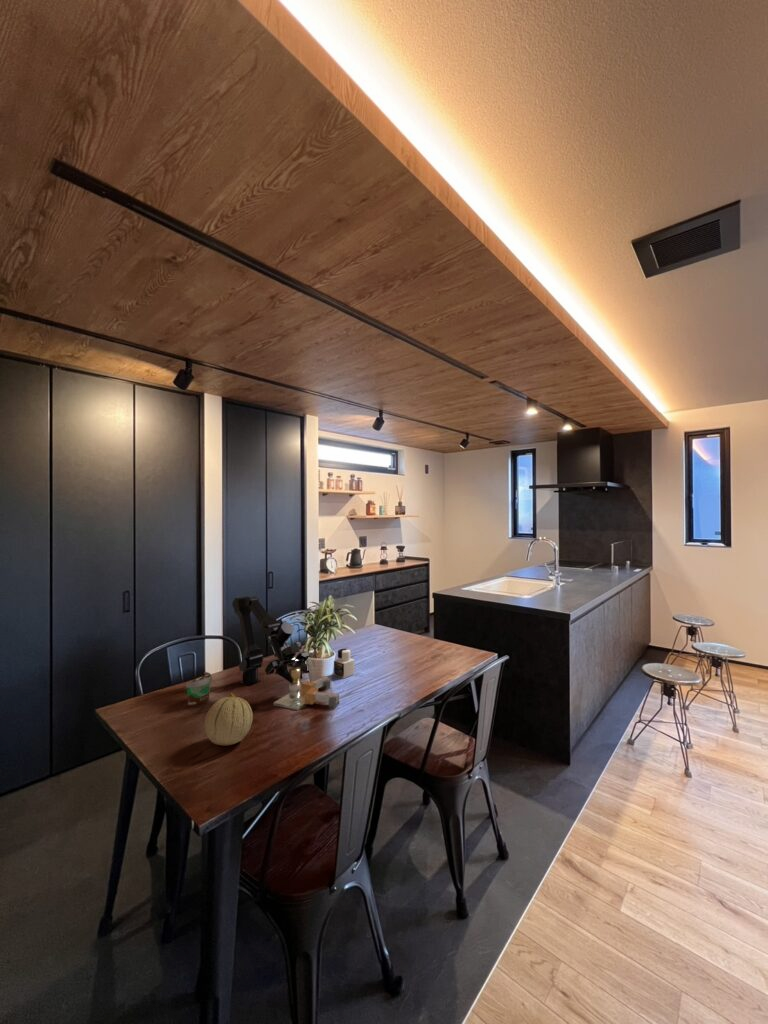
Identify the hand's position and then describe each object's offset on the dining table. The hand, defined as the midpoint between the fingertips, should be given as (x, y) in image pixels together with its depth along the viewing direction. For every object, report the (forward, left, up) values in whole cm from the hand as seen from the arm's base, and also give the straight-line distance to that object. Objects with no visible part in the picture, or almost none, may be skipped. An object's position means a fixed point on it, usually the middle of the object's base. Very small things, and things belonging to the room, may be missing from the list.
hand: (296, 680), depth 165 cm
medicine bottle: (-34, +2, -9) cm, 36 cm away
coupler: (0, -1, -7) cm, 7 cm away
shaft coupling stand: (-7, +5, -9) cm, 12 cm away
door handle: (-40, -22, -9) cm, 46 cm away
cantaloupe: (+34, -2, -9) cm, 35 cm away
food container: (+15, -36, -9) cm, 40 cm away
